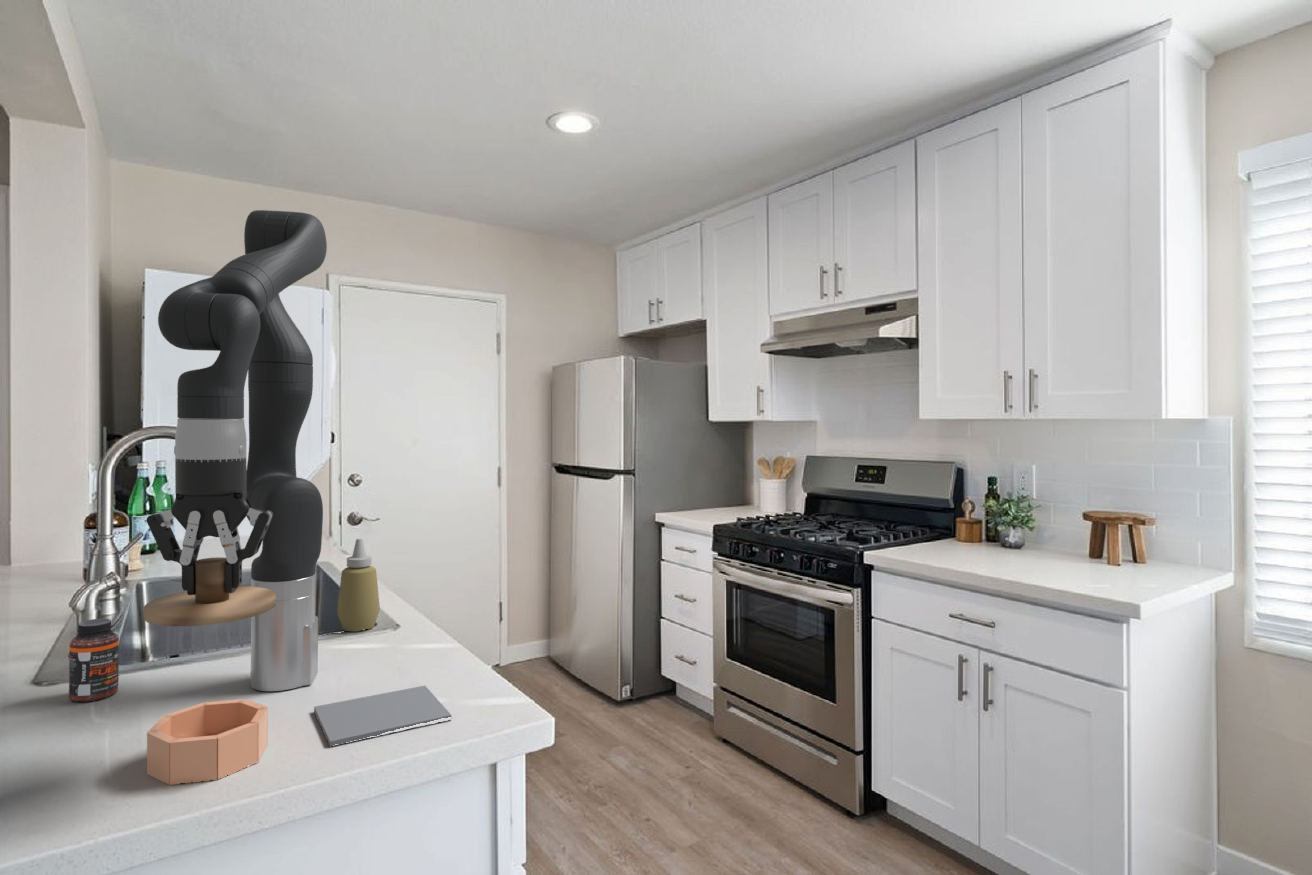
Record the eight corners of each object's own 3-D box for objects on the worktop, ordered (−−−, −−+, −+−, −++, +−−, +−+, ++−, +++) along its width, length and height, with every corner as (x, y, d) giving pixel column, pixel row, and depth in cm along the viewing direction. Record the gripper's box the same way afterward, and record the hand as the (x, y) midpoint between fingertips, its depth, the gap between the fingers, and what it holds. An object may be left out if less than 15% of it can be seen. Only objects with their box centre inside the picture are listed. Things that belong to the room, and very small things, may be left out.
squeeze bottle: (353, 636, 139) (354, 544, 139) (328, 629, 144) (328, 540, 143) (388, 626, 146) (389, 538, 146) (363, 619, 151) (364, 534, 150)
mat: (425, 690, 113) (425, 685, 113) (451, 720, 103) (451, 714, 103) (314, 712, 104) (314, 706, 104) (330, 747, 94) (330, 741, 94)
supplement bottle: (91, 705, 105) (91, 629, 105) (58, 701, 106) (57, 625, 106) (128, 690, 111) (128, 617, 111) (97, 686, 112) (96, 614, 112)
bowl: (274, 733, 97) (274, 696, 97) (250, 776, 86) (250, 735, 86) (173, 742, 94) (173, 704, 94) (134, 788, 83) (134, 745, 82)
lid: (286, 592, 98) (286, 547, 98) (260, 622, 85) (260, 570, 85) (169, 598, 94) (169, 551, 94) (122, 629, 81) (121, 575, 81)
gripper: (281, 453, 94) (281, 583, 95) (157, 453, 91) (158, 588, 91) (267, 457, 87) (267, 597, 88) (132, 457, 83) (133, 603, 84)
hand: (212, 592), depth 90 cm, fingers closed on lid, 3 cm apart
